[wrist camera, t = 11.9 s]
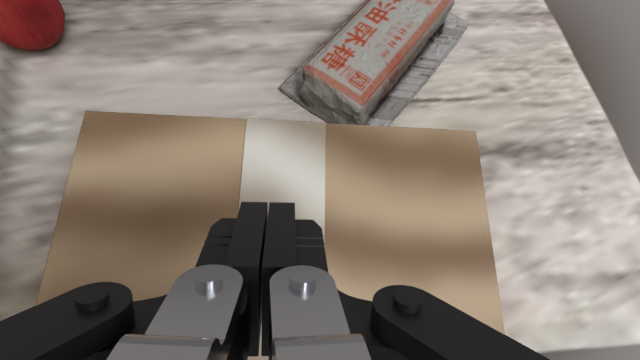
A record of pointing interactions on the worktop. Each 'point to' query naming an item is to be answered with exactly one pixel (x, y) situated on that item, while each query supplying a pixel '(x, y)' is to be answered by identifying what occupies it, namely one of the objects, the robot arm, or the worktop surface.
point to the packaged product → (376, 61)
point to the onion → (31, 23)
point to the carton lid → (276, 186)
